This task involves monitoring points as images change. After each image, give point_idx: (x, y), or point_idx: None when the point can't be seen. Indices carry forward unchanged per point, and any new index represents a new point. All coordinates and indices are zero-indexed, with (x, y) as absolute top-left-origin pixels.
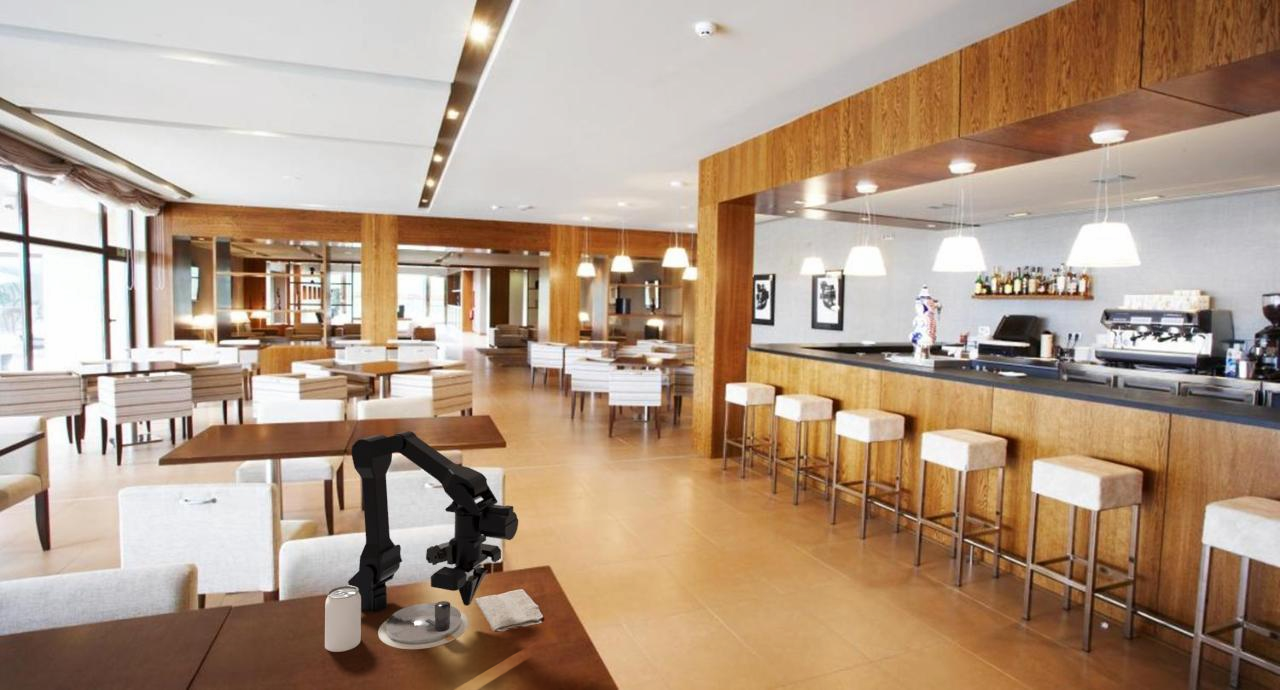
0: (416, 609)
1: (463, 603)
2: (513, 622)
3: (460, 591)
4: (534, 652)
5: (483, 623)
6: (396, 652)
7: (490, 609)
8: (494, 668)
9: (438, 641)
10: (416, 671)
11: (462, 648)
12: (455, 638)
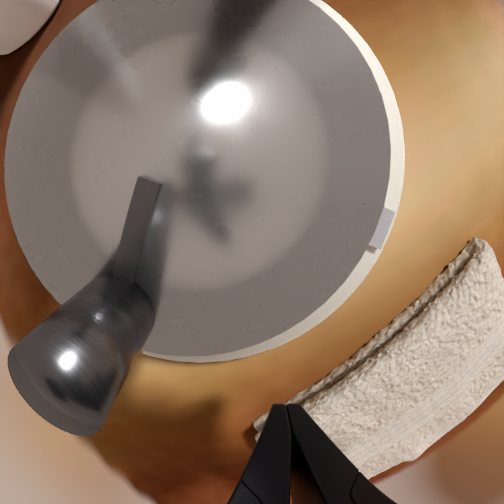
0: (263, 33)
1: (270, 409)
2: None
3: (235, 490)
4: (224, 489)
5: (348, 350)
6: None
7: (398, 378)
8: (121, 449)
9: None
10: (5, 291)
11: (149, 365)
12: (143, 353)
